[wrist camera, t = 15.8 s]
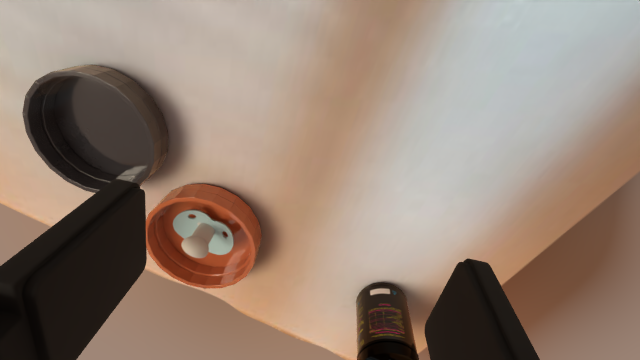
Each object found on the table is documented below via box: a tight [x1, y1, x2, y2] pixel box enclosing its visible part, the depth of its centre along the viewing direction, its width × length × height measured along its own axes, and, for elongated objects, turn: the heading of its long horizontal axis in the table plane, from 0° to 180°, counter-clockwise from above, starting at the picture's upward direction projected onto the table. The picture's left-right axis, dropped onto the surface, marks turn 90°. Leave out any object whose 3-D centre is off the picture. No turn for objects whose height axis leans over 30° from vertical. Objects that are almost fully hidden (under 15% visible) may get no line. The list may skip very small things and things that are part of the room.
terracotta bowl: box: [146, 184, 262, 288], centre depth 41 cm, size 13×13×4 cm
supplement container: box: [356, 283, 419, 360], centre depth 42 cm, size 7×7×10 cm
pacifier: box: [173, 209, 234, 258], centre depth 40 cm, size 7×6×6 cm
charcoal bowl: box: [23, 65, 168, 193], centre depth 36 cm, size 13×13×4 cm
